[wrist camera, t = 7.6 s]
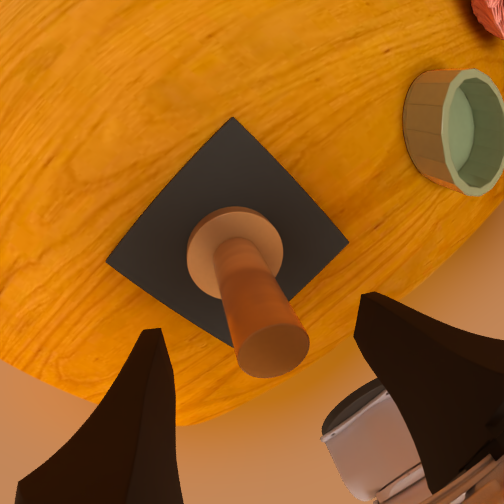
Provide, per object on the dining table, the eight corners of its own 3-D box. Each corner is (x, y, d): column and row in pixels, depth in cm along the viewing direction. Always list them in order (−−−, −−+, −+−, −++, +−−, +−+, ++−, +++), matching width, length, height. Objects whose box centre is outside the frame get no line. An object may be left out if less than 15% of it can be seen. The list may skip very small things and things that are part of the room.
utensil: (234, 305, 18) (269, 415, 11) (167, 256, 16) (162, 366, 9) (295, 246, 17) (369, 334, 10) (232, 186, 15) (282, 252, 8)
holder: (435, 205, 19) (469, 221, 16) (381, 111, 15) (420, 114, 12) (485, 139, 17) (518, 148, 14) (444, 50, 14) (481, 48, 11)
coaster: (234, 345, 20) (235, 349, 19) (106, 258, 15) (105, 262, 15) (346, 240, 18) (349, 242, 18) (231, 116, 14) (233, 116, 13)
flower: (490, 71, 15) (542, 76, 10) (435, -6, 12) (491, -18, 7) (506, 26, 13) (550, 27, 8) (458, -41, 10) (503, -51, 5)
